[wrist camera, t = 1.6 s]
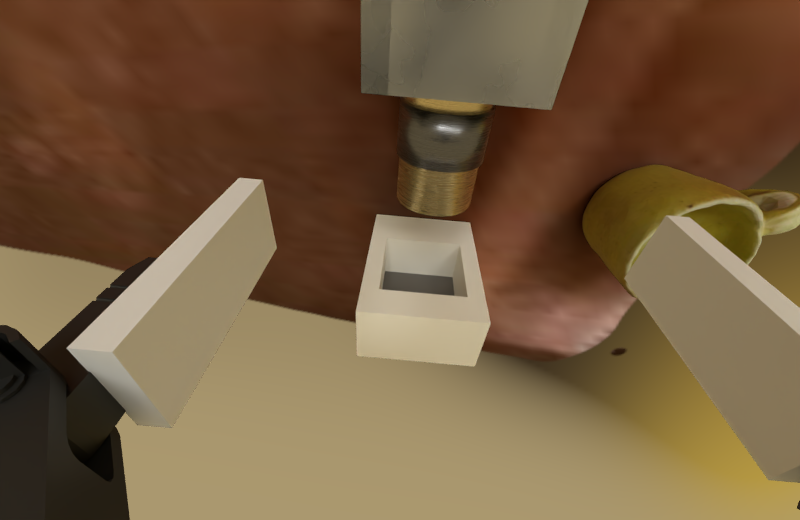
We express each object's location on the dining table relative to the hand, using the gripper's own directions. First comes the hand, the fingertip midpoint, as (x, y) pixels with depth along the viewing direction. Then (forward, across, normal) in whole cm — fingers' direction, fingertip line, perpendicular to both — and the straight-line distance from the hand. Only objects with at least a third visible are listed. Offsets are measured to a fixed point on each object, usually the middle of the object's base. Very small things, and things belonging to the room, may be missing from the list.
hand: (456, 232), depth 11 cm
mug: (+18, +20, -6) cm, 28 cm away
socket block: (+18, 0, -13) cm, 22 cm away
